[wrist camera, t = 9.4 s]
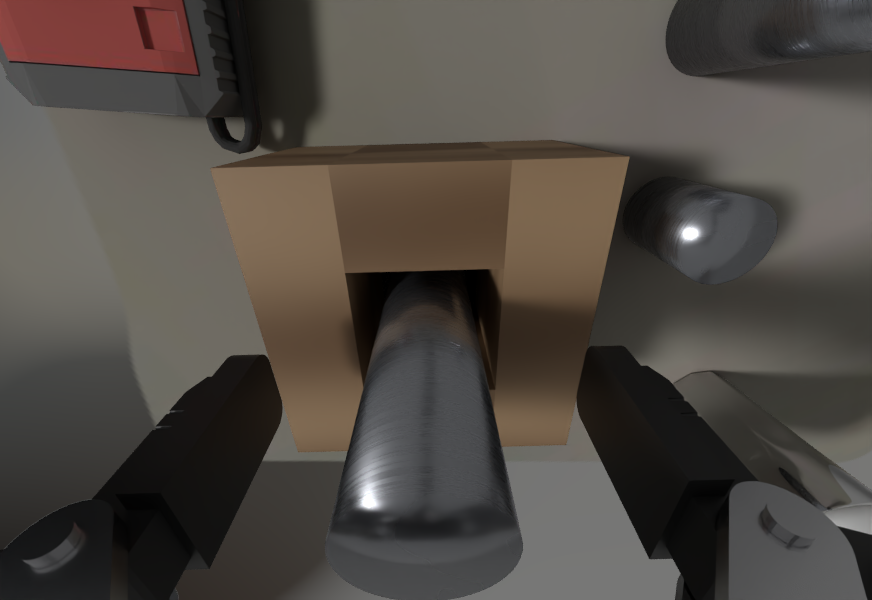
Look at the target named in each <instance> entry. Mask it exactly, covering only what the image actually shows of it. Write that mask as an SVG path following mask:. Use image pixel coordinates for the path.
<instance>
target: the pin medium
mask: <svg viewBox="0 0 872 600" xmlns="http://www.w3.org/2000/svg"><path fill="white" fill-rule="evenodd" d="M666 49H667V54H668V57H669V59H670V61H671V63H672V64H673V66H674V67H675V68H676V69H677V70H679V71H680V72H682V73H684V74H686V75H690V76H702V75H709V74H716V73H723V72H730V71H736V70H743V69H750V68H757V67H764V66H771V65H778V64H785V63H792V62H799V61H806V60H813V59H820V58H827V57H834V56H840V55H847V54H854V53H861V52H868V51H872V0H678V1H677V3H676V4H675V6H674V8H673V10H672V13H671V15H670V18H669V21H668V25H667V30H666Z"/></svg>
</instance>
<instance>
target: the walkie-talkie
mask: <svg viewBox="0 0 872 600" xmlns="http://www.w3.org/2000/svg"><path fill="white" fill-rule="evenodd" d="M0 62H1V63H2V65H3V68H4V70H5V72H6V74H7V76H6V79H7V80H8V81H9V82H10V83H11V84H13V86H14V87H15V88H16V89H17V90H18V91H19V92H20V93H21V94H22V95H23V96H24V97H25V98H26V99H27V100H28V101H29V102H30V103H31V104H32V105H35V106H46V107H60V108H75V109H89V110H104V111H118V112H133V113H147V114H162V115H176V116H192V117H206V119H207V123H208V126H209V130H210V132H211V134H212V136H213V137H214V139H215V141H216V142H217V143H218V144H219V145H220V146H221V147H222V148H224V149H226V150H230V151H233V152H236V153H239V154H241V153H246V152H250V151H253V150H254V149H255V148H256V147H257V146H258V145H259V143H260V136H261V129H262V124H261V117H260V111H259V104H258V98H257V91H256V85H255V78H254V72H253V65H252V59H251V52H250V46H249V39H248V33H247V26H246V20H245V13H244V7H243V0H0ZM243 116H244V120H245V134H244V137H243V139H242V141H239V140H236V139H234V138H233V137H231V135H230V133H229V131H228V129H227V127H226V123H225V119H224V117H243Z"/></svg>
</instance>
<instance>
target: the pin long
mask: <svg viewBox="0 0 872 600" xmlns="http://www.w3.org/2000/svg"><path fill="white" fill-rule="evenodd" d="M522 551H523V542H522V537H521V533H520V528H519V523H518V519H517V514H516V510H515V505H514V500H513V496H512V492H511V487H510V483H509V478H508V474H507V469H506V464H505V459H504V455H503V450H502V445H501V441H500V436H499V432H498V427H497V423H496V418H495V414H494V409H493V404H492V400H491V395H490V391H489V386H488V382H487V377H486V373H485V368H484V363H483V359H482V354H481V350H480V345H479V341H478V336H477V331H476V327H475V322H474V318H473V313H472V309H471V304H470V300H469V295H468V290H467V286H466V281H465V277H464V272H463V270H435V271H398V272H392V273H391V277H390V281H389V285H388V289H387V293H386V297H385V301H384V306H383V310H382V314H381V318H380V322H379V326H378V330H377V334H376V338H375V342H374V346H373V350H372V354H371V359H370V363H369V367H368V371H367V375H366V379H365V383H364V387H363V391H362V395H361V399H360V403H359V407H358V412H357V416H356V420H355V424H354V428H353V432H352V436H351V440H350V444H349V448H348V452H347V456H346V460H345V465H344V469H343V473H342V477H341V481H340V485H339V489H338V493H337V497H336V502H335V505H334V510H333V513H332V517H331V522H330V526H329V530H328V534H327V538H326V542H325V552H326V557H327V560H328V562H329V564H330V565H331V567H332V568H333V570H334V571H335V572H336V573H337V574H338V575H339V576H340V577H341V578H343V579H344V580H345V581H346V582H348V583H350V584H351V585H353V586H355V587H357V588H359V589H361V590H363V591H366V592H368V593H371V594H374V595H378V596H381V597H386V598H390V599H396V600H448V599H454V598H459V597H464V596H467V595H471V594H473V593H477V592H480V591H482V590H484V589H487V588H488V587H491V586H493V585H494V584H496V583H498V582H499V581H501V580H502V579H503V578H505V577H506V576H507V575H508V574H509V573H510V572H511V571H512V570H513V569H514V567H515V566H516V565H517V564H518V562H519V560H520V558H521V554H522Z"/></svg>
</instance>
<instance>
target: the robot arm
mask: <svg viewBox="0 0 872 600" xmlns="http://www.w3.org/2000/svg"><path fill="white" fill-rule="evenodd" d="M577 408H578V412H579V416H580V418H581V420H582V422H583V424H584V426H585V428H586V431H587V433H588V435H589V437H590V439H591V441H592V443H593V445H594V447H595V449H596V451H597V453H598V455H599V457H600V459H601V461H602V463H603V465H604V467H605V469H606V471H607V473H608V475H609V477H610V479H611V481H612V483H613V485H614V488H615V490H616V492H617V494H618V496H619V498H620V500H621V502H622V504H623V506H624V508H625V510H626V512H627V514H628V516H629V518H630V520H631V522H632V524H633V526H634V528H635V530H636V532H637V535H638V536H639V539H640V541H641V543H642V545H643V547H644V549H645V551H646V553H647V555H648V557H649V559H670V558H671V559H673V560H674V562H675V564H676V566H677V567H678V569H679V571H680V573H681V574H680V576H679V578H678V581H677V586H676V595H675V600H872V535H871V534H867V533H863V532H859V531H855V530H851V529H847V528H844V527H840V526H836V525H835V524H834V523H833V522H832V521H831V520H830V519H829V518H828V517H827V516H826V515H825V514H824V513H822V512H821V511H820V510H819V509H817V508H816V507H815V506H813V505H812V504H810V503H809V502H807V501H806V500H804V499H803V498H801V497H799V496H797V495H795V494H794V493H792V492H789V491H787V490H785V489H783V488H780V487H778V486H775V485H772V484H768V483H764V482H759V481H758V480H757V479H756V477H755V476H754V475H753V474H752V473H751V472H750V471H749V470H748V469H747V467H746V466H745V465H744V464H743V463H742V462H741V461H740V460H739V458H738V457H737V456H736V455H735V454H734V453H733V452H732V451H731V449H730V448H729V447H728V446H727V445H726V444H725V443H724V442H723V440H722V439H721V438H720V437H719V436H718V435H717V434H716V433H715V431H714V430H713V429H712V428H711V427H710V426H709V425H708V424H707V422H706V421H705V420H704V419H703V418H702V417H701V416H700V417H699V416H698V414H697V413H698V412H697V411H696V410H695V409H694V408H693V407H692V406H691V405H690V403H689V402H688V401H685V400H684V397H683V396H682V394H681V393H680V392H679V391H678V390H677V389H676V388H675V387H674V385H673V384H672V383H671V382H670V381H669V380H668V379H666V378H665V377H663V376H662V375H660V374H659V373H657V372H656V371H654V370H653V369H651V368H650V367H648V366H641V365H640V364H639V363H638V362H637V361H636V359H635V358H634V357H633V356H632V355H631V353H630V352H629V351H628V350H627V349H626V348H625V347H624V346H591V347H589V348H588V349H587V351H586V354H585V359H584V363H583V368H582V372H581V377H580V381H579V386H578V390H577ZM281 417H282V400H281V396H280V393H279V390H278V387H277V384H276V381H275V377H274V374H273V371H272V368H271V365H270V362H269V359H268V358H267V357H266V356H265V355H233V356H230V357H228V358H227V359H226V360H225V362H224V363H223V364H222V365H221V366H220V368H219V369H218V370H217V371H216V372H215V374H214V375H213V376H212V377H207V378H205V379H204V380H202V381H201V382H200V383H198V384H197V385H195V386H194V387H192V388H191V389H190V390H188V391H187V392H185V394H184V395H183V396H182V397H181V398H180V399H179V400H178V402H177V403H176V404H175V405H174V406H173V407H172V408H171V410H170V413H169V414H166V415H165V416H164V418H163V419H162V420H161V421H160V422H159V423H158V424H157V426H156V430H152V431H151V432H150V434H149V435H148V436H147V437H146V438H145V439H144V440H143V441H142V443H141V444H140V445H139V446H138V447H137V448H136V449H135V451H134V452H133V453H132V454H131V455H130V456H129V458H128V459H127V460H126V461H125V462H124V463H123V464H122V465H121V467H120V468H119V469H118V470H117V471H116V472H115V474H114V475H113V476H112V477H111V478H110V479H109V480H108V481H107V482H106V484H105V485H104V486H103V487H102V488H101V489H100V490H99V492H98V493H97V494H96V495H95V496H94V497H93V498H92V499H90V500H84V501H79V502H76V503H73V504H70V505H67V506H65V507H62V508H60V509H58V510H56V511H54V512H52V513H50V514H49V515H47V516H45V517H43V518H42V519H40V520H39V521H37V522H36V523H34V524H33V525H31V526H30V527H29V528H27V529H26V530H25V531H24V532H22V533H21V534H20V535H19V536H17V537H16V538H15V539H14V540H13V541H12V542H11V543H10V544H9V545H8V546H7V547H6V548H5V549H3V550H0V600H179V598H178V593H177V591H176V589H175V587H176V585H177V583H178V581H179V579H180V577H181V575H182V574H183V572H184V570H189V569H190V570H191V569H210V567H211V565H212V562H213V560H214V558H215V556H216V554H217V552H218V550H219V548H220V546H221V544H222V542H223V540H224V538H225V535H226V534H227V532H228V529H229V528H230V525H231V523H232V521H233V519H234V517H235V515H236V513H237V511H238V509H239V507H240V505H241V503H242V500H243V499H244V497H245V495H246V493H247V490H248V488H249V486H250V484H251V482H252V480H253V478H254V476H255V474H256V472H257V470H258V468H259V466H260V464H261V462H262V460H263V458H264V455H265V453H266V451H267V449H268V447H269V445H270V443H271V441H272V439H273V437H274V435H275V433H276V431H277V429H278V427H279V424H280V421H281Z"/></svg>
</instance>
